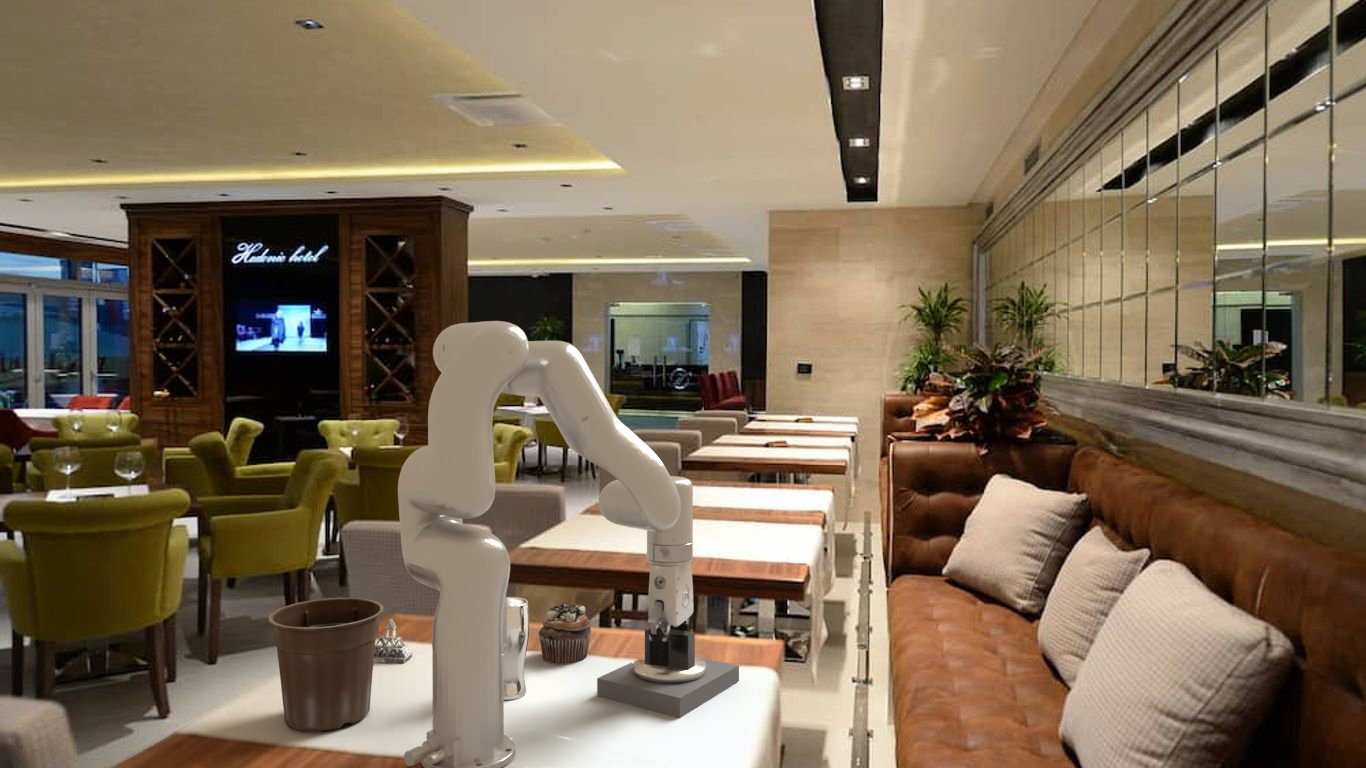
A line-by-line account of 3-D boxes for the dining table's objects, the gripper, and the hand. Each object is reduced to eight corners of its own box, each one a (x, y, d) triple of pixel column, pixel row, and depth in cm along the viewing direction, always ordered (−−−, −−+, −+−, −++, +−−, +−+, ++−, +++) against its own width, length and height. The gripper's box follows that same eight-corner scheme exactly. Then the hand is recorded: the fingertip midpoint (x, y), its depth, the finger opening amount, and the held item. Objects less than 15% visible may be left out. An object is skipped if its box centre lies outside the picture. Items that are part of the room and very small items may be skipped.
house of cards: (432, 652, 172) (432, 611, 172) (413, 667, 164) (413, 624, 164) (386, 650, 173) (386, 609, 173) (365, 664, 165) (365, 622, 165)
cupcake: (596, 651, 172) (596, 598, 171) (583, 668, 162) (583, 612, 162) (547, 649, 173) (547, 596, 173) (531, 665, 164) (531, 609, 163)
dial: (717, 665, 154) (717, 626, 154) (686, 687, 143) (686, 646, 143) (654, 655, 159) (654, 617, 159) (619, 675, 149) (619, 635, 149)
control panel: (680, 717, 140) (680, 696, 139) (597, 696, 148) (597, 676, 148) (738, 683, 155) (739, 664, 155) (660, 666, 163) (660, 648, 163)
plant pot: (376, 733, 133) (376, 623, 133) (257, 742, 130) (256, 629, 130) (389, 694, 149) (388, 595, 149) (283, 701, 146) (282, 600, 146)
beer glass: (519, 703, 145) (519, 608, 145) (478, 699, 147) (478, 606, 146) (535, 688, 152) (535, 597, 152) (495, 684, 154) (495, 595, 153)
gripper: (674, 564, 142) (674, 675, 142) (706, 544, 158) (706, 643, 158) (629, 561, 144) (629, 670, 144) (665, 541, 160) (665, 639, 161)
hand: (669, 656), depth 151 cm, fingers open, 9 cm apart
